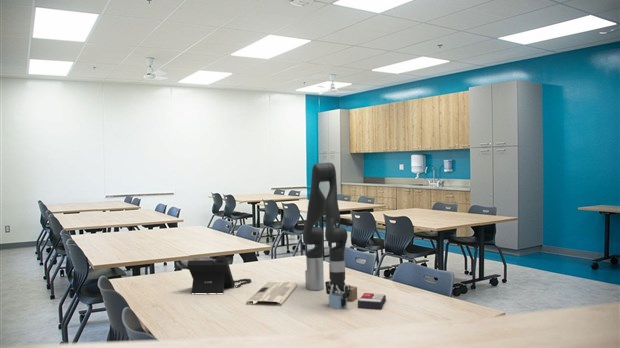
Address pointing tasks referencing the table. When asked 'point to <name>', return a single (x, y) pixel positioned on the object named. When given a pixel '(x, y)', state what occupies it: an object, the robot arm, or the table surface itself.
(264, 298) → the newspaper
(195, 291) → the office phone
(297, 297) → the table surface
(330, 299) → the slate block
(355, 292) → the walnut block
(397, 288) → the table surface
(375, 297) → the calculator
